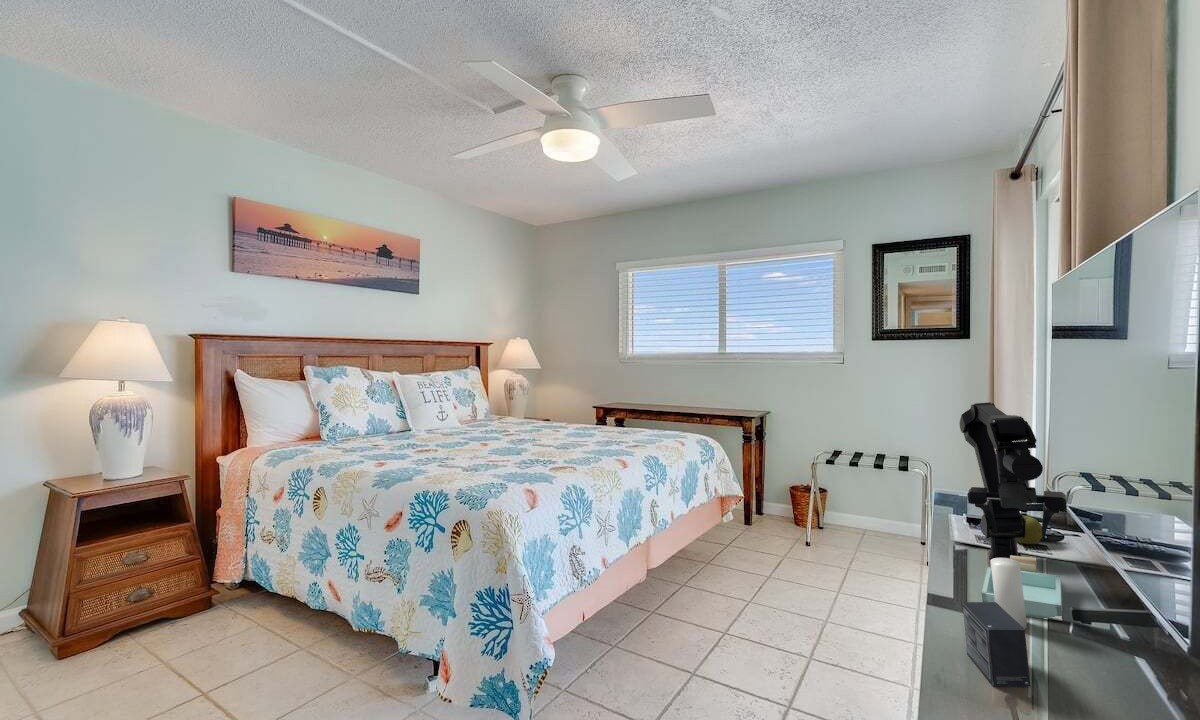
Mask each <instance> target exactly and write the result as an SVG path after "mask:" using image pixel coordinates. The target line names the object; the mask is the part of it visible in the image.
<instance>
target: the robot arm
mask: <svg viewBox="0 0 1200 720" xmlns="http://www.w3.org/2000/svg"><path fill="white" fill-rule="evenodd" d="M959 430H960V432H961V433H962V434H963V436H964V439H965V441H966V442H967V443H968V444H969V445H971V446H972V448H973V449H974V451H975V455H976V460H977V465H978V468H979V472H980V476H981V481H982V483H983V487H979V486H977V487H976V486H971V487H970V488H969V489H968V492H967V502H968V504H970V505H974V507H975V508H979V509H981V510H982V512H983V514H982V516H981V519H980V521H979V522H980V523H979V526H980V531H981V533H982V535H984V536H985V538H987V539H989V542H990V543H989V544H990V553H989V557H988V560H989V561H991V559H994V558H1009V559H1010V555H1012V556H1021V557H1022V553H1019V550H1018V549H1019V548H1018V542H1017V540H1016V538H1025V526H1026V520H1025V519H1024V517H1023V516H1024V515H1023V514H1022V513H1021V512H1020V510H1026V509H1028V506H1027V505H1028V504H1029V505H1032V504H1040V505H1041V504H1043V508H1042V524H1041V526H1042V537H1045V535H1046V533H1047V531H1048V530H1047V529H1048V527H1049V524H1050V521H1051V519H1052V517H1053V516H1054V514H1060V513H1061V511H1067V510H1068V505H1067V495H1066V494H1065V493H1064V492H1063V491H1048V490H1044V491H1043V495H1042V494H1037V491H1036V487H1034V486H1033V487H1032V486H1031V487H1030V483H1029V482H1030V481H1033V480H1036V479H1037V478H1039V477H1040V476H1041V475H1042V473H1043V470H1044V469H1043V468H1044V467H1043V464H1042V462H1041V460H1040V459H1038V458H1037V457H1035V456H1034V455H1032V454H1031V450H1030V449H1037V444H1036V443H1037V438H1036V436H1035V433H1034V431H1033V430H1032V427H1031V425H1030V424H1029V422H1028V421H1027V420H1025V418H1024V417H1022V416H1021V415H1015V414H1014V415H1013V414H1006V413H1004V412H1003V411H1002V410H1000V409H999V408H998V407H996V405H995V403H993V402H990V401H988V402H975V403H973V404H971V405H970V408H969V409H967V410H966V411H965V412H963V413H961V416H960V419H959Z"/></svg>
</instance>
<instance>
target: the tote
mask: <svg viewBox="0 0 1200 720" xmlns="http://www.w3.org/2000/svg"><path fill="white" fill-rule="evenodd" d="M985 573H986V574H985V577H984V581H983V586H982V589H981V602H995V597H994V588H993V579H992V570H991V566H987V569H986V572H985ZM1021 578H1022V587H1023V596H1024V605H1025V614H1026V617H1030V618H1035V619H1041V618H1049V617H1055V616H1062V611H1063V592H1062V591H1063V590H1062V579H1061V575H1057V574H1049V573H1041V572H1038V573H1035V572H1027V571H1021Z"/></svg>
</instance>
